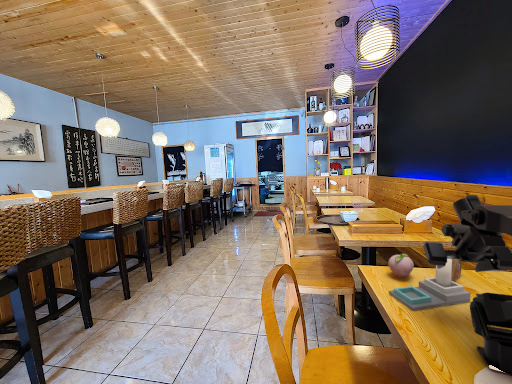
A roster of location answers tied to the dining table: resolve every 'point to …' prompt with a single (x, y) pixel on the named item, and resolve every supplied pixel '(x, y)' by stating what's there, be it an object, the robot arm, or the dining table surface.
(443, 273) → the white rounded cylinder
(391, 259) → the decorative fruit
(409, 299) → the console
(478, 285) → the dining table surface
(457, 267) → the tin
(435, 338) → the dining table surface
